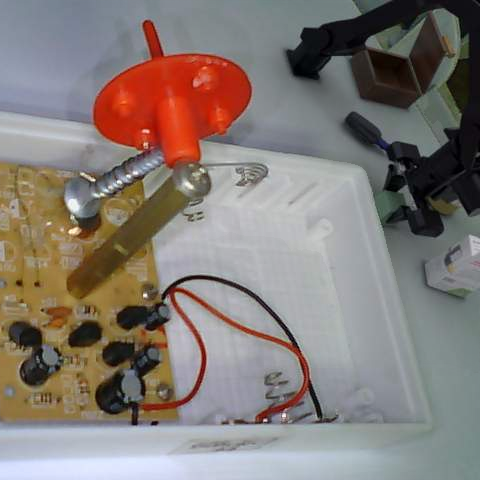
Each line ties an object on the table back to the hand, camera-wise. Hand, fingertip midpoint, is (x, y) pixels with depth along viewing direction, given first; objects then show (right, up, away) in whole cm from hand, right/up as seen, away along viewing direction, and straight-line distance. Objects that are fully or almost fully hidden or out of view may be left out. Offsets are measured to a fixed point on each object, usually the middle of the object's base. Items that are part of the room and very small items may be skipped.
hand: (384, 211), depth 149 cm
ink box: (+11, -13, -1) cm, 17 cm away
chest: (+5, +28, +21) cm, 36 cm away
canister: (+14, +3, +10) cm, 18 cm away
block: (0, 0, +1) cm, 1 cm away
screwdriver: (+4, +11, +11) cm, 16 cm away
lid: (+12, +33, +14) cm, 38 cm away
